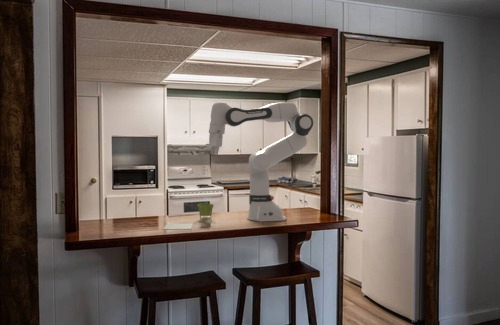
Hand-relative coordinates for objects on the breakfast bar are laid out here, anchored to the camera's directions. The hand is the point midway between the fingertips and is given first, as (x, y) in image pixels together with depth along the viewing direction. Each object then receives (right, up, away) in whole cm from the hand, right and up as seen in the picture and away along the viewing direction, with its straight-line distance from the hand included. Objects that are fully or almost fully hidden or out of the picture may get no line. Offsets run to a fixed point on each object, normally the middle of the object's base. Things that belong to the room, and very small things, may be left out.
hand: (214, 154), depth 242 cm
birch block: (-3, -38, -17) cm, 42 cm away
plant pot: (-5, -38, +2) cm, 38 cm away
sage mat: (-17, -38, -20) cm, 46 cm away
